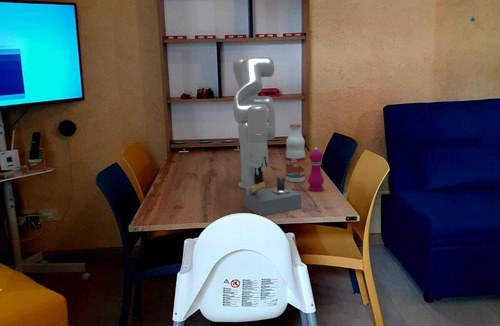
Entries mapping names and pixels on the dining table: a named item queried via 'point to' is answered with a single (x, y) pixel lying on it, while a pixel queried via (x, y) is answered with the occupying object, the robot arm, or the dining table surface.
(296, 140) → the fruit juice
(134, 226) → the dining table surface
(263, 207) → the block
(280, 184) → the pin
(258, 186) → the lever
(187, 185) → the dining table surface
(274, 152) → the dining table surface
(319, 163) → the pepper mill
